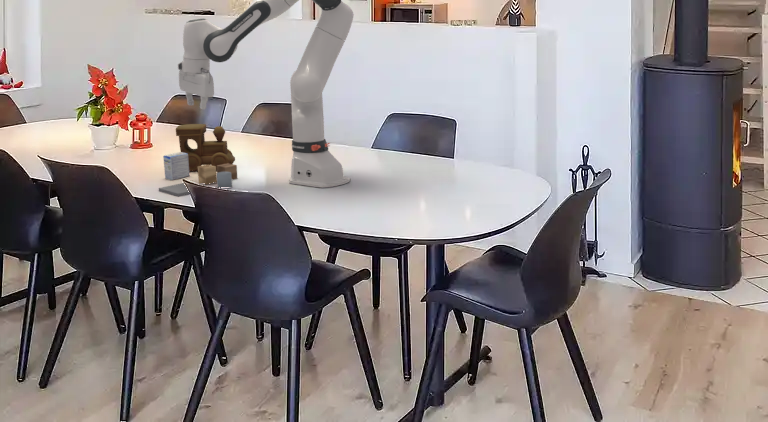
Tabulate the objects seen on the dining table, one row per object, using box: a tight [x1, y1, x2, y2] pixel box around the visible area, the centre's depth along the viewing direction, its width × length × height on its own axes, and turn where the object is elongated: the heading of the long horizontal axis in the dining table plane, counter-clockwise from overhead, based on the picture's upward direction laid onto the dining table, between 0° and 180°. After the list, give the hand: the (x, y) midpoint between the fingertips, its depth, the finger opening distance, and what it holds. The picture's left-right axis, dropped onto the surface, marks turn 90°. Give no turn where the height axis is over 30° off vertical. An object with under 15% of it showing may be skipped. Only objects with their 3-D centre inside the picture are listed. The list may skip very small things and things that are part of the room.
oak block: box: [197, 165, 217, 185], centre depth 307 cm, size 4×4×6 cm
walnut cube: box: [216, 163, 238, 180], centre depth 313 cm, size 5×5×5 cm
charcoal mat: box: [158, 182, 190, 197], centre depth 297 cm, size 12×11×1 cm
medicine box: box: [163, 151, 190, 181], centre depth 316 cm, size 8×4×9 cm, turn 141°
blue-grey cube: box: [216, 172, 233, 188], centre depth 300 cm, size 5×5×5 cm
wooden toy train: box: [175, 123, 236, 173], centre depth 329 cm, size 20×11×17 cm, turn 91°
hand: (196, 107), depth 302 cm, fingers open, 8 cm apart
